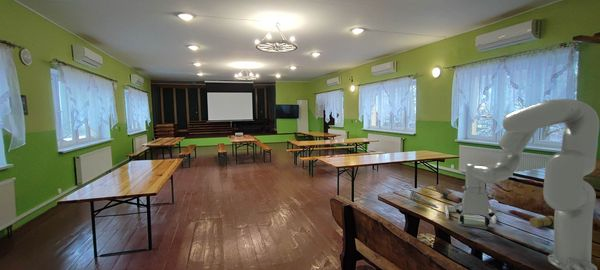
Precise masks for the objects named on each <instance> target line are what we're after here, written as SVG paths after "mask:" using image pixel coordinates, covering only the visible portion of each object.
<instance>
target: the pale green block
mask: <svg viewBox="0 0 600 270" xmlns="http://www.w3.org/2000/svg"><path fill="white" fill-rule="evenodd" d="M463 216H464V224H462V223H461V222H460V215H459V214H458V216H457V225H458V226H463V227H464V226H465V227H469V228H477V229H483V230H488V227H486V225H485V217H481V216H473V215H469V214H468V215H467V214H464V215H463Z"/></svg>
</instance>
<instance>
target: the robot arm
mask: <svg viewBox="0 0 600 270" xmlns="http://www.w3.org/2000/svg"><path fill="white" fill-rule="evenodd" d="M558 124H564V125H565V127H564V128H565V129H564V131H563V134H562V141H561V149H560V151H558V152H555V153H554V154H552V155H551V156H549V158H548V160H547V162H546V165H545V169H544V181H543V188H542V189H543V190H542V193H543V198H544V201H545V203H546V204H547V205H548V206H549V207H551V209H553V210H554V216H553V217H554V226H553V253H551V254H549V255H548V256H547V261H548V262H549V263H550V264H551V265H552V266H554V267H556V268H557V269H559V270H598V267H597V266H596V265H595V264H594V263H592V246H593V245H592V244H593V243H592V242H593V241H592V239H593V222H594V221H593V219H594V217H593V216H594V210H595V204H596V199H597V197H596V196H597V194H596V190H595V189H594V187H593V186H592V185H591V184H590V183H589V182H588V181H586V180H584V177H585V176H588V175H590V174H591V173H593V171H595V169H596V166H597V165H596V162H597V153H598V152H597V151H598V145H599V144H598V143H599V133H600V119H599V116H598V112H597V111H596V110H595V109H594V108H593V107H592V106H590V105H589V104H587V103H586V102H583V101H581V100H577V99H572V98H559V99H550V100H549V99H548V100H543V101H542V102H538V103H536V104H533V105H529V106H526V107H524V108H521V109H518V110H515V111H512V112H510V113H508V114H507V115H505V116H504V118H503V121H502V127H503V129H504V133H503V135H502V136H501V138H500V140H499V141H498V146H499V147H500V148H501V149H502V153H501V155H500V157H499V158H498V160H497V162H496V163H495V164H490V165H485V164H484V163H482V162H474V161H473V162H468V163H467V162H466V165H465V184H464V185H462V186H461V189H462V190H463V193H462V197H461V198H462V202H461V203H460V202H457V203H456V204H453V205H452V206H454V208H455V210H456V212H455V213H457V214H458V216H459V215H460V222H461V223H462V224H464V216H463V215H467V214H468V215H478V216H485V217H484V218H485V225H486V227H487V228H489V225H491V224H490V222H491V221H490V219H491V217H493V216H494V215H495V214H496V213H497V211H498V210H497V208H495V207H493V206H492V205H491V204H490V205H491V206H492V207H491V206H490V205H488V199H489V198H488V193H487V192H486V190H485V183H486V184H496V183H498V182H502V181H505V180H508V179H509V178H510V177H512V175H513V174H514V173H515V171H516V169H517V168H518V166H519V164H520V162H521V159H522V156H523V151H524V149H526V147H527V146H528V143H529V142H530V140H531V139H532V137H533V136H534V135H535V133H536V132H537V130H539V129H541V128H546V127H550V126H553V125H558ZM458 207H462V210H461V211H460V210H459V209H458ZM488 208H489V209H491V211H492V212H491V213H489V214H488ZM495 216H496V215H495ZM491 220H492V219H491Z"/></svg>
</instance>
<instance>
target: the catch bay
mask: <svg viewBox="0 0 600 270" xmlns="http://www.w3.org/2000/svg"><path fill="white" fill-rule="evenodd" d="M458 209H459V210H460V211H461V210H462V206H460V207H458ZM444 212H445V216H446V219H447V220H449V219H450V215H449V212H450V213H451V212H454V213H457V212H456V210H455V208H454V206H453V205H446V204H445V205H444ZM491 212H492V210H491V209H488V214H489V213H491ZM491 221H492V222H493V224H497V217H496V215H494V216H493V217H491Z"/></svg>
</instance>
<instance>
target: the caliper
mask: <svg viewBox="0 0 600 270" xmlns="http://www.w3.org/2000/svg"><path fill="white" fill-rule="evenodd" d="M410 199H411V200H413V199H414V200H415V199H417V200H419V201H422V202H424V203H426V204H427V205H429V206H431V207H433V208H436V209H438V208H439V207H438V206H437V204H435V203H433V202H432V201H429V200H427V199H425V198H424V197H423V196H421V195H420V194H418V193H416V192H415V190H411V191H410Z"/></svg>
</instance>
